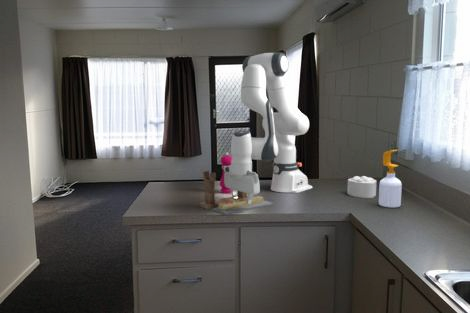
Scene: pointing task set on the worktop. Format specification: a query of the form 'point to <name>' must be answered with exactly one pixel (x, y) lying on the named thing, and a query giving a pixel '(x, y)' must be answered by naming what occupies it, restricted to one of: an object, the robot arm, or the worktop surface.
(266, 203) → the slate mat
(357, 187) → the lumpy-topped squat cylinder
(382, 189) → the soap bottle
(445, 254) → the worktop surface
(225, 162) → the pepper mill
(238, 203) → the brass rail
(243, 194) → the stand
